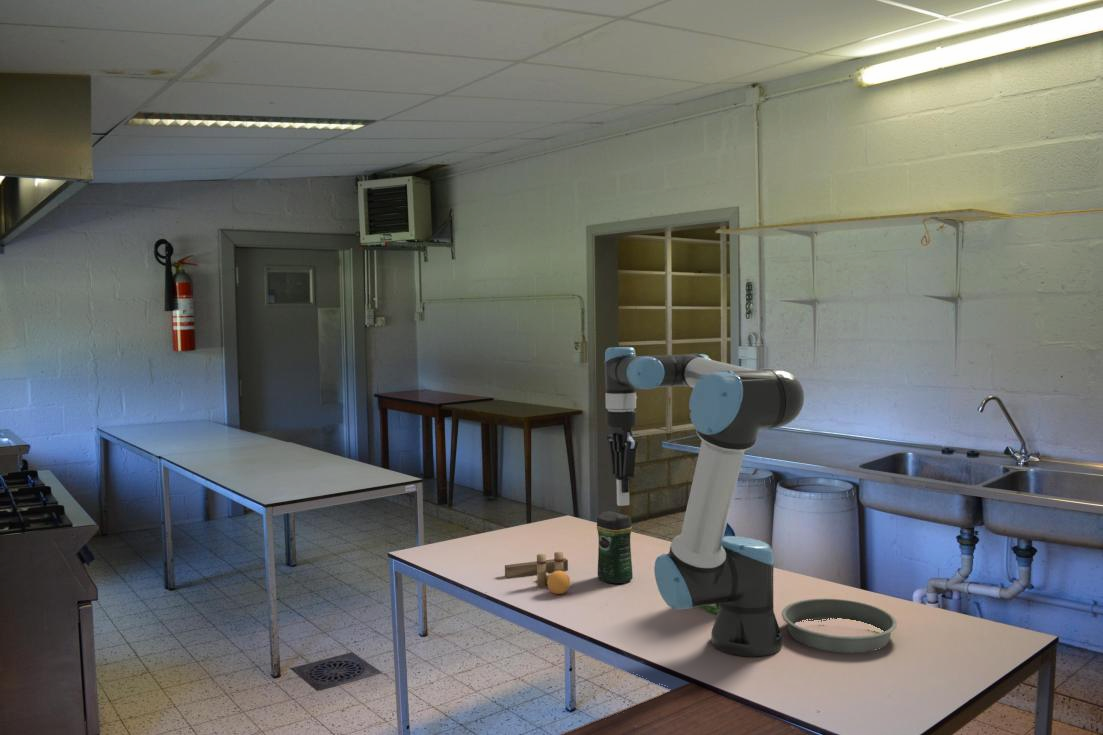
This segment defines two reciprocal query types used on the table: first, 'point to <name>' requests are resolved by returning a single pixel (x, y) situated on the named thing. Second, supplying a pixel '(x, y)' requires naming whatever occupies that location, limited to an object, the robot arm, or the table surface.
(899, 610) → the table surface
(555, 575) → the ball
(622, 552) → the coffee jar
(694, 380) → the robot arm
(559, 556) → the pin
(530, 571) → the back rail
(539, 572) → the pin
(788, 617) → the cake pan
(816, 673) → the table surface
